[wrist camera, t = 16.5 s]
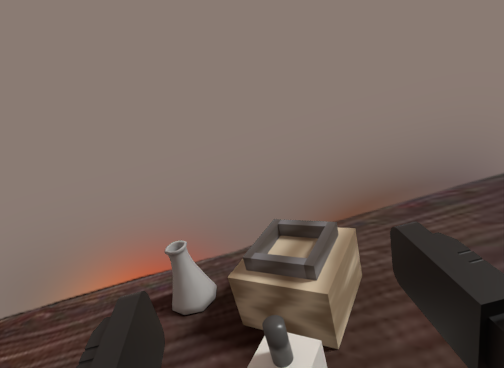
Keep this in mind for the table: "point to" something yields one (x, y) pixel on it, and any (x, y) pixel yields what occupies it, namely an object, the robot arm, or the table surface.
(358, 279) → the upper dock
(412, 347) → the table surface
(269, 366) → the plug
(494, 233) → the table surface
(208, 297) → the flask
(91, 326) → the table surface
